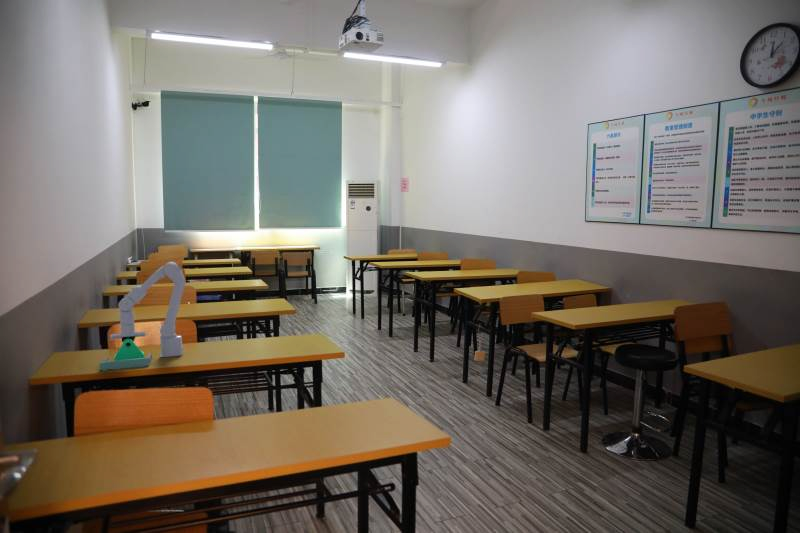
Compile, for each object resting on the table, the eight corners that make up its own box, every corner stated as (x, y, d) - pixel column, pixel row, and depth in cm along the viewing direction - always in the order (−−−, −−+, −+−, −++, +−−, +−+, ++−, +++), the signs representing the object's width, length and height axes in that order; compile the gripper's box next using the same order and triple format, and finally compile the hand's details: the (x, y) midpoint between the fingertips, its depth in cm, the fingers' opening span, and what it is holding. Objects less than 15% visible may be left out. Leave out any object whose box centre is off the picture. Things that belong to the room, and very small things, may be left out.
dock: (152, 358, 249) (151, 350, 249) (148, 365, 237) (148, 358, 236) (105, 362, 243) (105, 355, 242) (100, 370, 230) (99, 362, 230)
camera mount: (144, 356, 252) (142, 335, 251) (144, 360, 245) (142, 338, 244) (115, 359, 247) (113, 338, 246) (114, 364, 240) (112, 341, 239)
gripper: (145, 321, 253) (147, 349, 254) (111, 323, 248) (113, 352, 250) (143, 323, 246) (145, 352, 248) (108, 326, 241) (110, 356, 243)
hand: (129, 352), depth 248 cm, fingers closed, pressing on camera mount
